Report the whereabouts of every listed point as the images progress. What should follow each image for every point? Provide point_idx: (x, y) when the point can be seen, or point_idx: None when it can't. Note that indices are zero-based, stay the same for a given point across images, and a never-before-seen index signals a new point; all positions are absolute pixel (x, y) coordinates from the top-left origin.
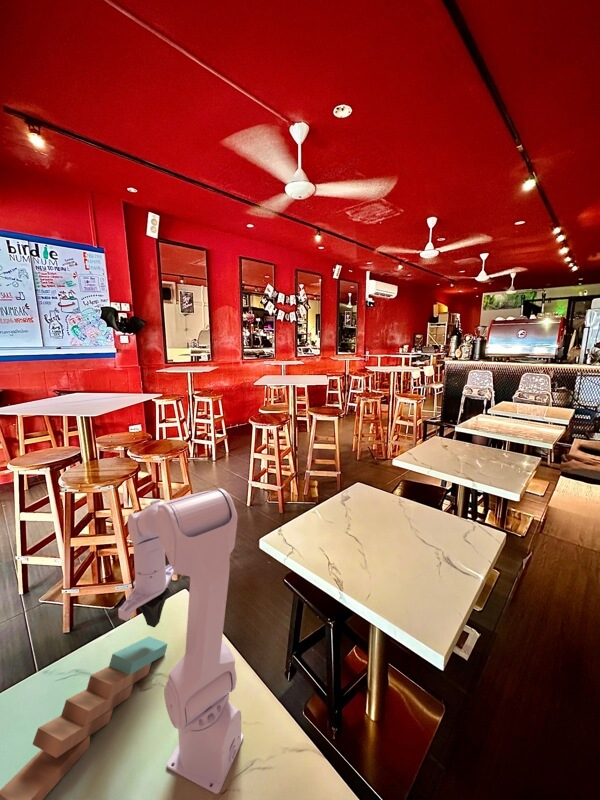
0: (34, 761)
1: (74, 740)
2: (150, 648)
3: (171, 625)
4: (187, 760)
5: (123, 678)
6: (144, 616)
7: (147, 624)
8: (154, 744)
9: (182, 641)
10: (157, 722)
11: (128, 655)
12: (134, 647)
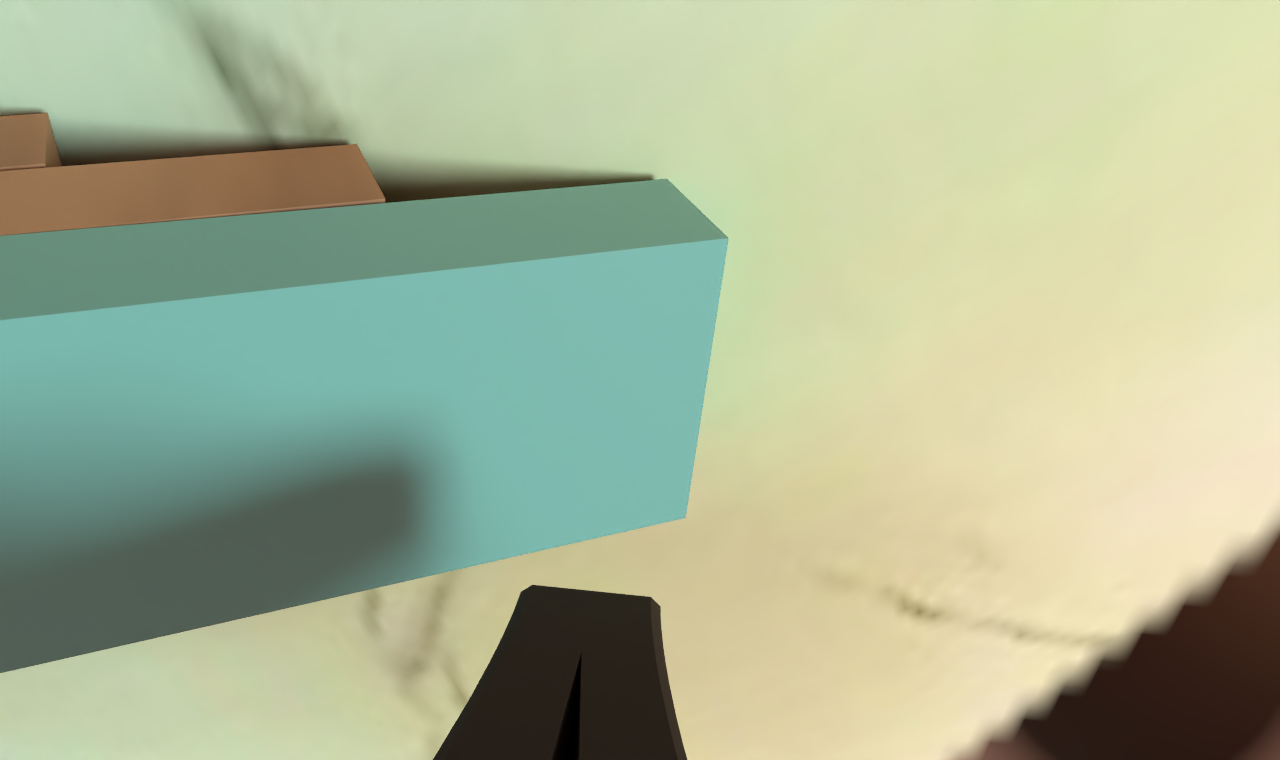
0: None
1: None
2: (447, 510)
3: (1082, 280)
4: None
5: None
6: (447, 751)
7: (516, 610)
8: (34, 703)
9: (852, 512)
10: (135, 661)
11: (41, 515)
12: (301, 375)
